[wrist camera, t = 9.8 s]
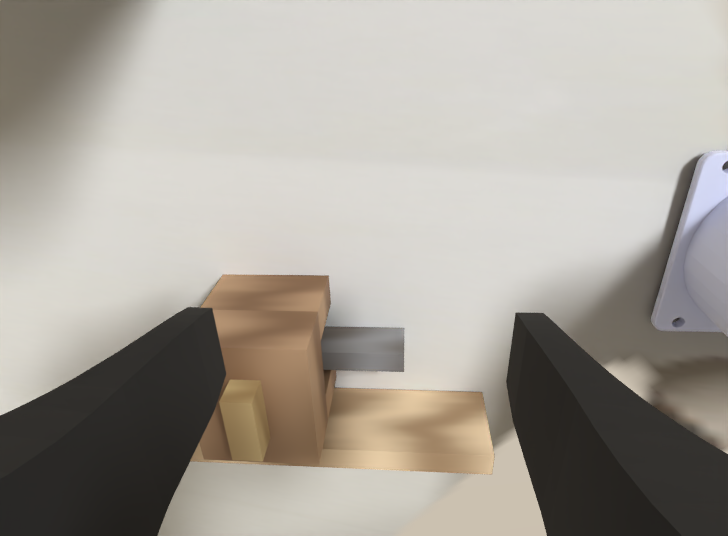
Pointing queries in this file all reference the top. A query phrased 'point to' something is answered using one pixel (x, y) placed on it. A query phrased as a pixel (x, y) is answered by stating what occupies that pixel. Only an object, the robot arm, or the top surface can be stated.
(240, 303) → the cabinet block
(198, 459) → the cleat board
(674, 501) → the robot arm
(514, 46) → the top surface
